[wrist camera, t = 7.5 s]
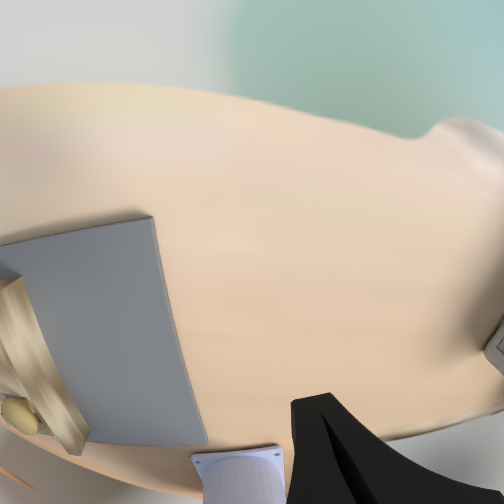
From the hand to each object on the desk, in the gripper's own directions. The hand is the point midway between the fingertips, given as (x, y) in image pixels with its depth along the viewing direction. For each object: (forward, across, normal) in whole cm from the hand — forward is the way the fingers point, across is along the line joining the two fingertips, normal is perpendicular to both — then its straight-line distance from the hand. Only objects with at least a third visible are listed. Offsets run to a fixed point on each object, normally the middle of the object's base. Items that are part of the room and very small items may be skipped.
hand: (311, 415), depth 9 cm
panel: (+9, +21, +3) cm, 23 cm away
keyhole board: (+9, +16, +3) cm, 18 cm away
